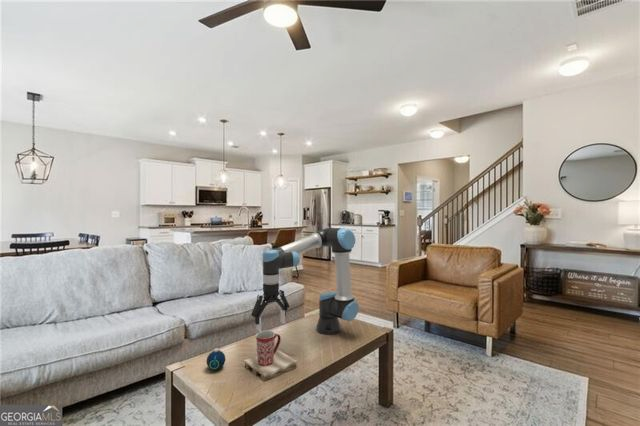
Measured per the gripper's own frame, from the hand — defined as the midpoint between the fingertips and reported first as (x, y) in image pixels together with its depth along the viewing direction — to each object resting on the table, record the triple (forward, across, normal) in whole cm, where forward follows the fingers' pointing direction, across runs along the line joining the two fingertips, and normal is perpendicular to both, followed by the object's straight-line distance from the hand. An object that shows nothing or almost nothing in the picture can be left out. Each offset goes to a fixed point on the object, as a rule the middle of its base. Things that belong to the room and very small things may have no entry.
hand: (271, 326), depth 147 cm
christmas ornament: (+19, +20, -16) cm, 32 cm away
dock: (+19, 0, 0) cm, 19 cm away
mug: (+16, +2, 0) cm, 16 cm away
